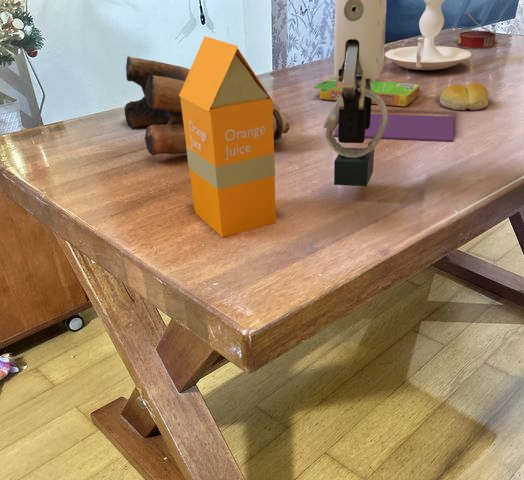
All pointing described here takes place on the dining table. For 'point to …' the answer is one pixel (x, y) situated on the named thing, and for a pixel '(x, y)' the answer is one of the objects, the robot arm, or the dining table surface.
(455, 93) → the bread roll
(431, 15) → the candlestick
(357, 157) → the watch
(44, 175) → the dining table surface
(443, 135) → the cloth
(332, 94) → the game box
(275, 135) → the stacked firewood logs
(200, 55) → the orange juice
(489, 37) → the canned food
